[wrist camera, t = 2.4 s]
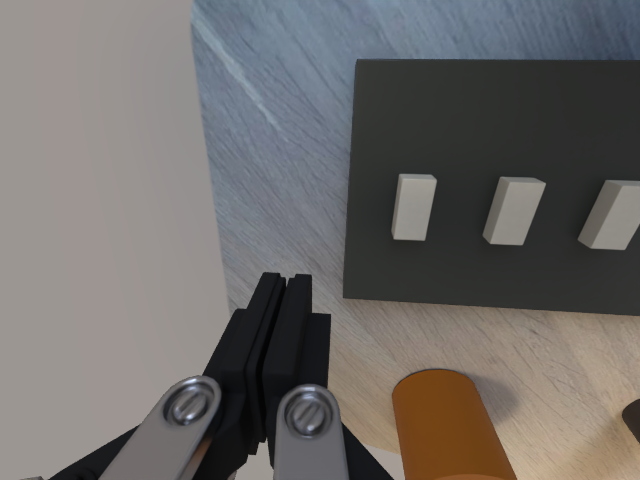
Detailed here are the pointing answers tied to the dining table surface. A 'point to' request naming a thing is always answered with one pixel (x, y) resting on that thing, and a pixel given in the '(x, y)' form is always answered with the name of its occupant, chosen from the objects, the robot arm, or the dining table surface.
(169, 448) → the robot arm
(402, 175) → the beige block
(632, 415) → the coffee cup
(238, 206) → the dining table surface
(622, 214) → the white rectangular block
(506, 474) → the mug
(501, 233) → the chalk
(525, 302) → the slate board
